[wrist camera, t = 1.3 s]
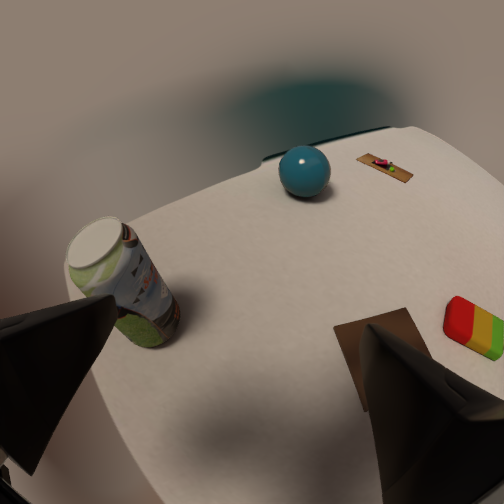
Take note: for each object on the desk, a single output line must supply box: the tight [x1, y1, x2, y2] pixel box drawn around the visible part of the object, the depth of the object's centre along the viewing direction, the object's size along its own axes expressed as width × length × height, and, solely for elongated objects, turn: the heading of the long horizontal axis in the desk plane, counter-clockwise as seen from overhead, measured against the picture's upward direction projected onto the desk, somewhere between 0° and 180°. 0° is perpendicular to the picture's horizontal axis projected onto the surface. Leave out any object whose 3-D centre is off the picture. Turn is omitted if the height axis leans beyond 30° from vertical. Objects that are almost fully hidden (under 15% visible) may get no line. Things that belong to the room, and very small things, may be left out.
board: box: [356, 153, 413, 183], centre depth 52 cm, size 6×12×2 cm, turn 43°
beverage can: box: [66, 216, 180, 347], centre depth 21 cm, size 6×7×12 cm
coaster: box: [333, 307, 432, 412], centre depth 22 cm, size 9×9×1 cm
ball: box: [278, 145, 331, 197], centre depth 40 cm, size 8×8×8 cm
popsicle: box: [444, 296, 504, 361], centre depth 21 cm, size 6×15×2 cm, turn 54°
